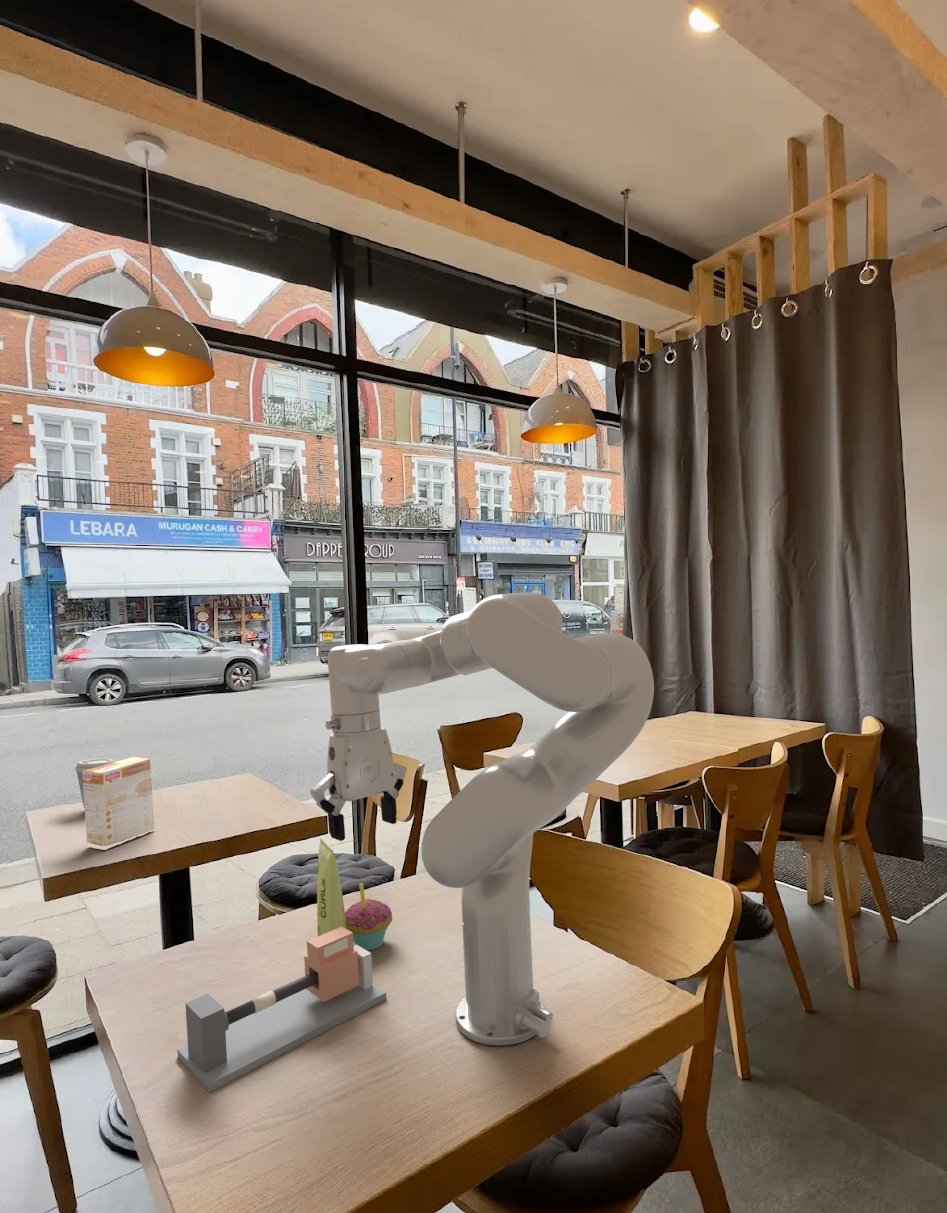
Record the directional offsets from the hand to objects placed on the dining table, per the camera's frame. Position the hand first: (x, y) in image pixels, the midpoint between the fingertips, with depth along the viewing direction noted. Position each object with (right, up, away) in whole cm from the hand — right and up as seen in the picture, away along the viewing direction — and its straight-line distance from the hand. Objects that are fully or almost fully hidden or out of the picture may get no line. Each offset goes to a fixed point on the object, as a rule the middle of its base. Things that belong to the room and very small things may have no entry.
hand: (364, 830), depth 115 cm
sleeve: (-4, -21, -8) cm, 22 cm away
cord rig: (-9, -24, -13) cm, 28 cm away
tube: (-6, -23, +5) cm, 25 cm away
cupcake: (-1, -23, +10) cm, 25 cm away
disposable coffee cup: (-92, -24, +97) cm, 136 cm away
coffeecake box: (-73, -24, +70) cm, 104 cm away
